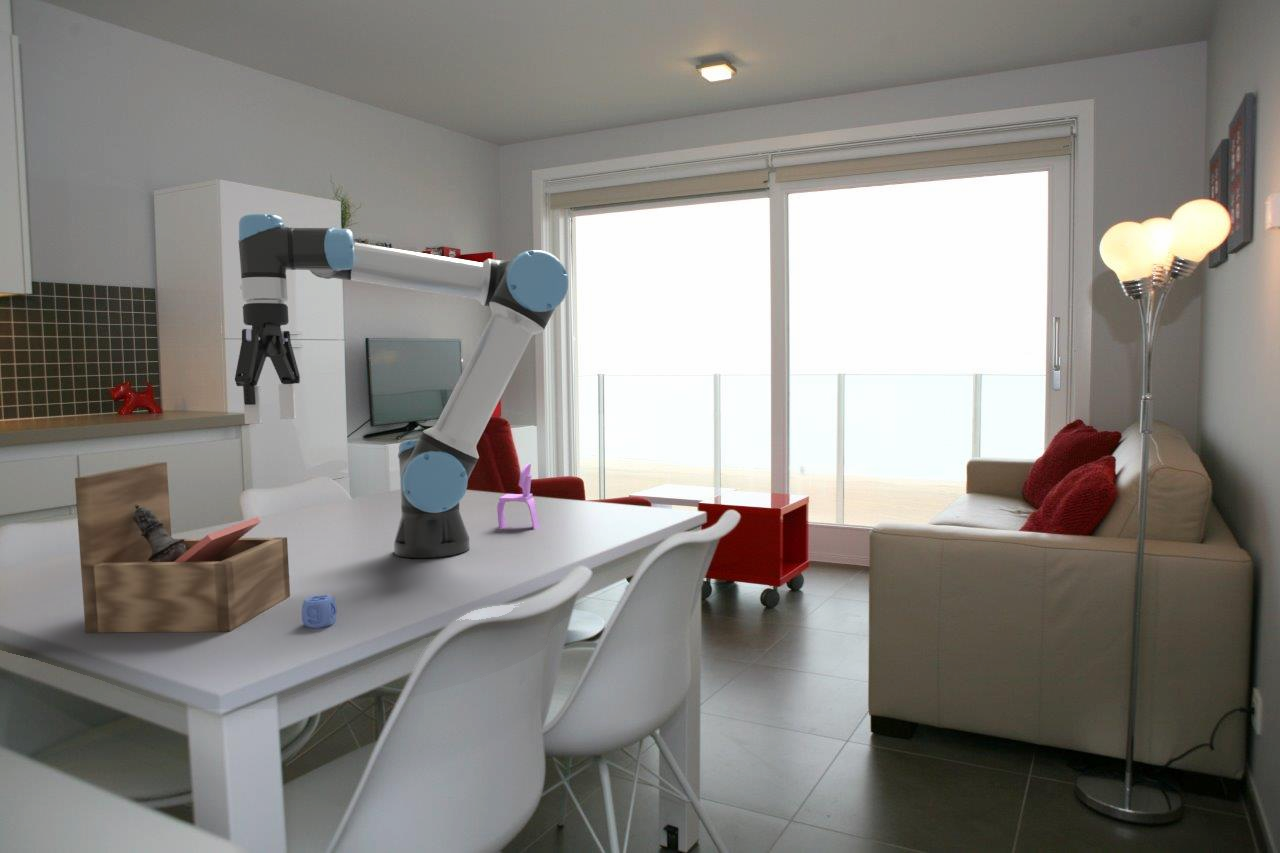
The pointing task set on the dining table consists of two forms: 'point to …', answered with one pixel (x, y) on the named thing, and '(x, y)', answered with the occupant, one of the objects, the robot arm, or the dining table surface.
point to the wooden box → (165, 564)
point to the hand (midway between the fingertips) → (271, 421)
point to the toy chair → (519, 499)
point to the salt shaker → (158, 537)
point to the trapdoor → (217, 542)
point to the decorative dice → (319, 611)
